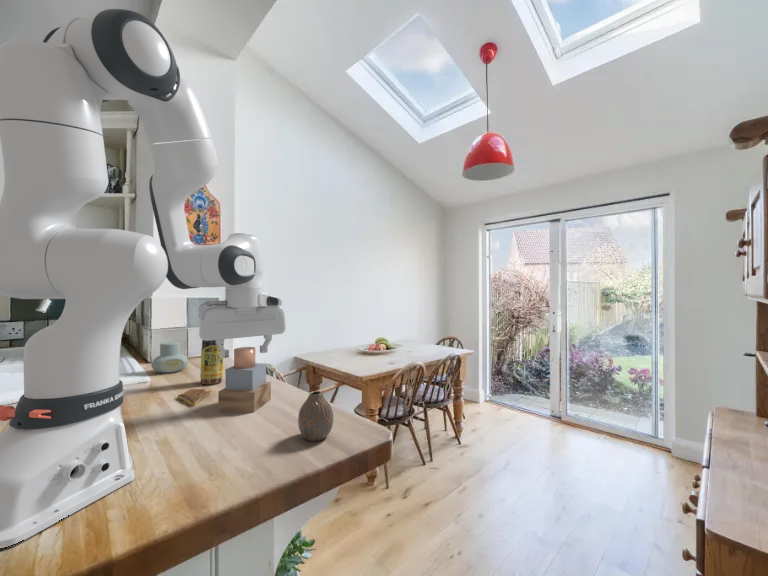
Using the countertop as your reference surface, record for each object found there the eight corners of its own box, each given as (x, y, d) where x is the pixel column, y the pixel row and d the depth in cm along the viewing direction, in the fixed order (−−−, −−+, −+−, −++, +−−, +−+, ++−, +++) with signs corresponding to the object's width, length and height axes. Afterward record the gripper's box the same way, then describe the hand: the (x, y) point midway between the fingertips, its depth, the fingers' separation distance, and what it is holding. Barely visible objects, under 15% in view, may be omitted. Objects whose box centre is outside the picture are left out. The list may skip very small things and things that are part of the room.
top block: (252, 390, 83) (252, 370, 83) (225, 389, 84) (225, 369, 84) (266, 382, 90) (266, 363, 90) (241, 381, 91) (240, 362, 91)
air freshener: (185, 366, 127) (185, 339, 127) (190, 371, 121) (190, 342, 121) (150, 371, 120) (150, 343, 120) (153, 376, 114) (152, 346, 114)
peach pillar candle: (249, 369, 84) (249, 350, 84) (230, 368, 84) (229, 350, 84) (258, 364, 89) (258, 347, 89) (240, 364, 89) (240, 346, 89)
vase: (340, 434, 70) (340, 390, 70) (317, 448, 64) (317, 400, 64) (314, 426, 73) (314, 385, 73) (290, 439, 67) (290, 394, 67)
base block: (254, 413, 82) (254, 392, 82) (218, 412, 83) (218, 391, 83) (270, 400, 91) (270, 382, 91) (238, 399, 92) (238, 381, 92)
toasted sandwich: (194, 408, 85) (193, 401, 85) (162, 409, 85) (162, 401, 85) (214, 394, 96) (214, 388, 96) (186, 395, 96) (186, 388, 96)
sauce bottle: (202, 386, 102) (202, 319, 102) (198, 382, 107) (197, 318, 107) (226, 382, 106) (226, 318, 106) (221, 378, 111) (220, 317, 111)
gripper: (201, 301, 77) (202, 363, 77) (288, 299, 90) (288, 351, 90) (195, 300, 82) (195, 358, 82) (278, 298, 95) (278, 348, 95)
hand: (244, 355), depth 87 cm, fingers open, 8 cm apart
